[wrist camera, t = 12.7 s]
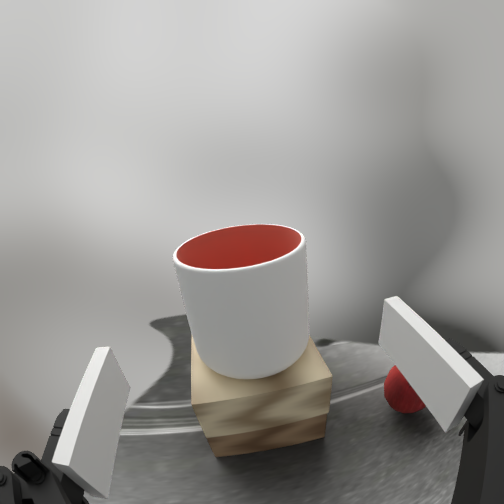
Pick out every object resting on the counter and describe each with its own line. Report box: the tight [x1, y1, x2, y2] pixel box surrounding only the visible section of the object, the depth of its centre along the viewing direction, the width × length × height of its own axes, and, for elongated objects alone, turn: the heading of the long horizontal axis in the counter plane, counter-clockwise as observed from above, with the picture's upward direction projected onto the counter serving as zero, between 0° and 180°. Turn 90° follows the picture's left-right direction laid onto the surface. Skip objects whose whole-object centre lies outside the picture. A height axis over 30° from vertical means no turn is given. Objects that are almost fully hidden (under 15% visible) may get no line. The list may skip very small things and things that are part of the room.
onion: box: [384, 365, 426, 413], centre depth 24 cm, size 6×6×8 cm
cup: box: [173, 224, 309, 379], centre depth 24 cm, size 10×10×10 cm
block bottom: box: [207, 413, 327, 457], centre depth 28 cm, size 11×11×5 cm
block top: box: [191, 335, 332, 438], centre depth 26 cm, size 11×11×5 cm
